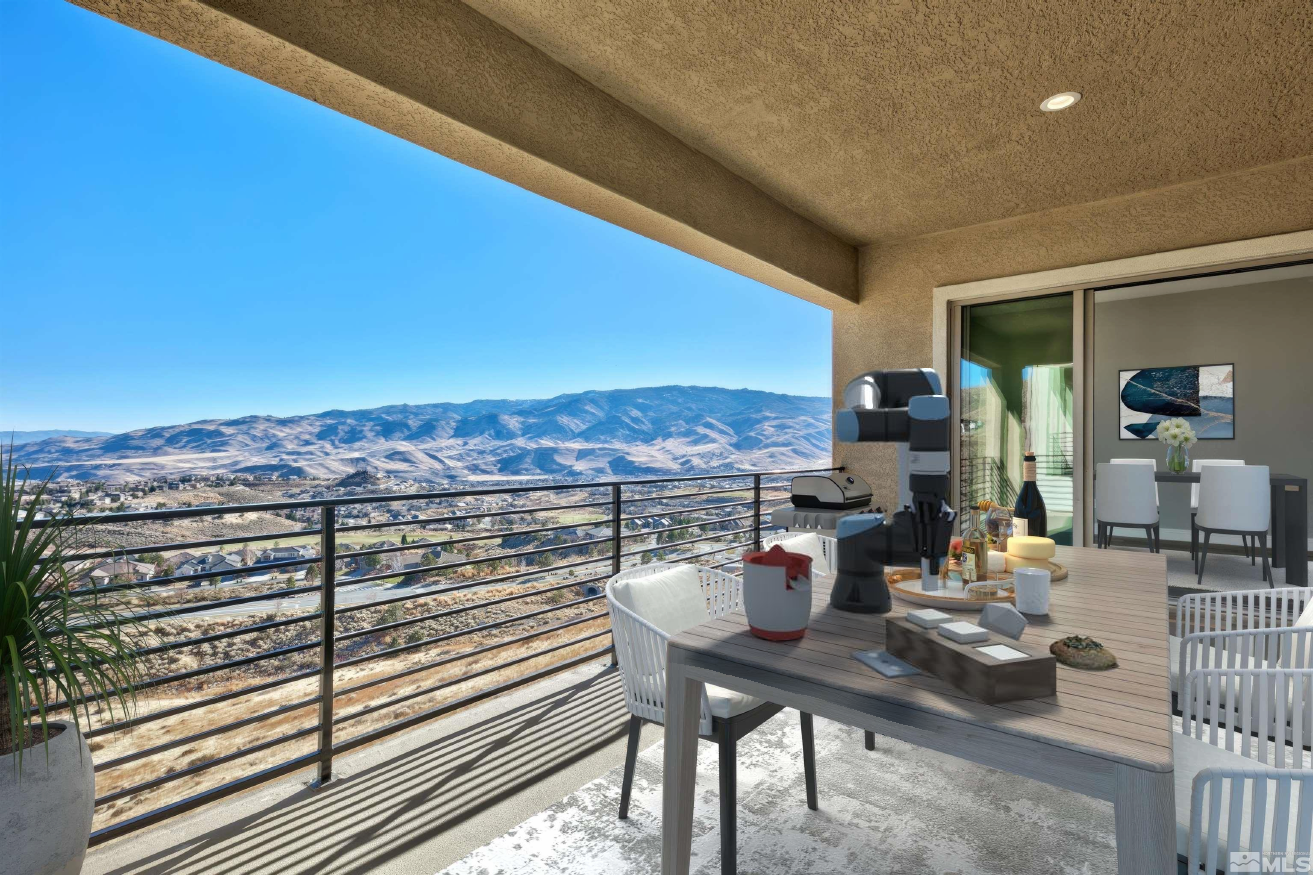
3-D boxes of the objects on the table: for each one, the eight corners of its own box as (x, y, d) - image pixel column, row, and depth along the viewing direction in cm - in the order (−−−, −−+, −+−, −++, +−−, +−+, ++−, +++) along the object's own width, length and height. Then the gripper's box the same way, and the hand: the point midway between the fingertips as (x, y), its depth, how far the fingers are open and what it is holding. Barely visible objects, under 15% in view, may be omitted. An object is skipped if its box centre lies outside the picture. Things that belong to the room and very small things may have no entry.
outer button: (974, 665, 111) (974, 648, 111) (1001, 661, 113) (1001, 644, 112) (1001, 677, 105) (1001, 659, 105) (1030, 673, 107) (1030, 656, 107)
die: (1024, 653, 128) (1040, 611, 130) (984, 631, 129) (1000, 590, 132) (1003, 654, 135) (1018, 614, 138) (965, 633, 137) (981, 594, 140)
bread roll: (1052, 644, 131) (1056, 621, 130) (1118, 664, 124) (1122, 640, 123) (1043, 662, 122) (1047, 638, 121) (1113, 684, 115) (1117, 658, 114)
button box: (885, 649, 129) (885, 618, 128) (942, 642, 132) (942, 612, 132) (989, 704, 103) (989, 665, 103) (1056, 694, 106) (1056, 656, 106)
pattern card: (850, 655, 126) (850, 652, 126) (881, 651, 128) (881, 649, 128) (888, 677, 114) (888, 675, 114) (921, 673, 116) (921, 670, 116)
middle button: (938, 639, 120) (938, 624, 119) (964, 636, 121) (964, 621, 121) (961, 650, 114) (961, 634, 114) (988, 646, 115) (988, 630, 115)
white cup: (1058, 615, 151) (1057, 574, 151) (1025, 615, 151) (1024, 574, 151) (1038, 606, 159) (1038, 567, 158) (1007, 606, 159) (1006, 567, 158)
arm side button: (907, 625, 128) (907, 611, 128) (931, 623, 130) (931, 608, 130) (927, 635, 122) (927, 619, 122) (952, 632, 124) (952, 616, 124)
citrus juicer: (774, 652, 128) (773, 554, 128) (729, 628, 144) (728, 541, 143) (834, 640, 135) (833, 547, 134) (784, 619, 150) (783, 535, 150)
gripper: (892, 471, 131) (893, 584, 131) (936, 475, 118) (937, 599, 118) (922, 470, 133) (923, 581, 133) (969, 474, 120) (969, 596, 120)
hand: (929, 590), depth 126 cm, fingers closed
